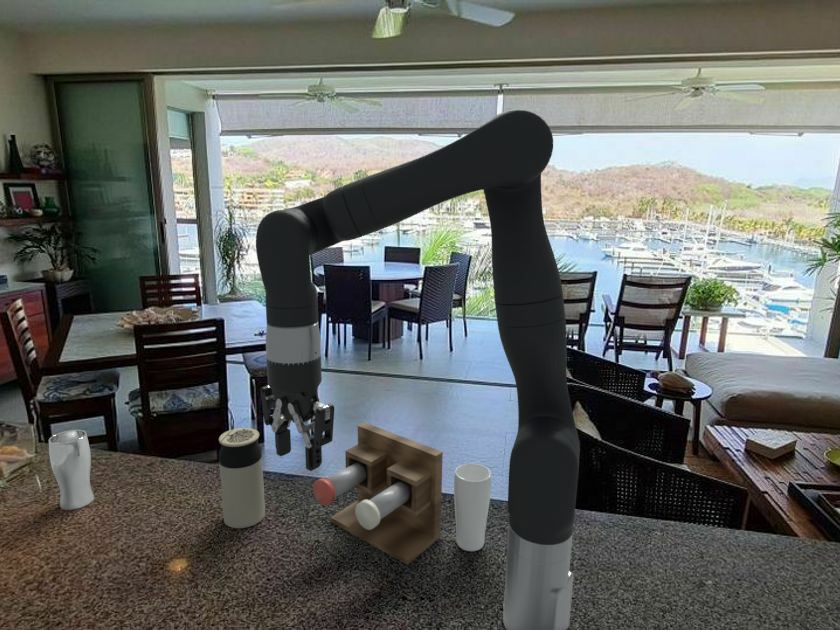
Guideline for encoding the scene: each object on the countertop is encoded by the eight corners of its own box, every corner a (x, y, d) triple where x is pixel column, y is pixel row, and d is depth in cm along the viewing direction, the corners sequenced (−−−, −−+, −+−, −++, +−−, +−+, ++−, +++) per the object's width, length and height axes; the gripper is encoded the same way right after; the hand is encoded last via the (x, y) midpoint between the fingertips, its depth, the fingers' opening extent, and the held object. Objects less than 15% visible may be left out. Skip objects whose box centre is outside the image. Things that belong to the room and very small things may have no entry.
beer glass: (60, 497, 113) (50, 432, 110) (98, 490, 116) (89, 426, 113) (54, 514, 107) (43, 446, 104) (94, 506, 110) (85, 440, 107)
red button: (369, 486, 103) (368, 464, 102) (330, 509, 96) (330, 486, 94) (351, 478, 106) (351, 456, 105) (313, 500, 98) (312, 477, 97)
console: (440, 537, 102) (442, 451, 98) (407, 564, 94) (408, 473, 90) (365, 499, 114) (364, 422, 110) (330, 521, 106) (328, 439, 102)
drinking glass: (486, 558, 96) (490, 483, 93) (449, 552, 98) (452, 479, 94) (489, 535, 103) (492, 465, 99) (454, 530, 104) (457, 461, 101)
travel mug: (272, 509, 110) (268, 429, 106) (251, 532, 103) (245, 447, 98) (238, 503, 112) (232, 424, 108) (215, 526, 104) (208, 442, 100)
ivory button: (412, 507, 97) (413, 483, 96) (375, 534, 89) (375, 508, 88) (393, 498, 100) (393, 475, 98) (355, 523, 92) (354, 498, 91)
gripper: (348, 357, 73) (350, 466, 77) (283, 338, 82) (287, 438, 86) (306, 370, 68) (310, 488, 71) (240, 349, 76) (247, 455, 80)
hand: (298, 460), depth 79 cm, fingers open, 6 cm apart
